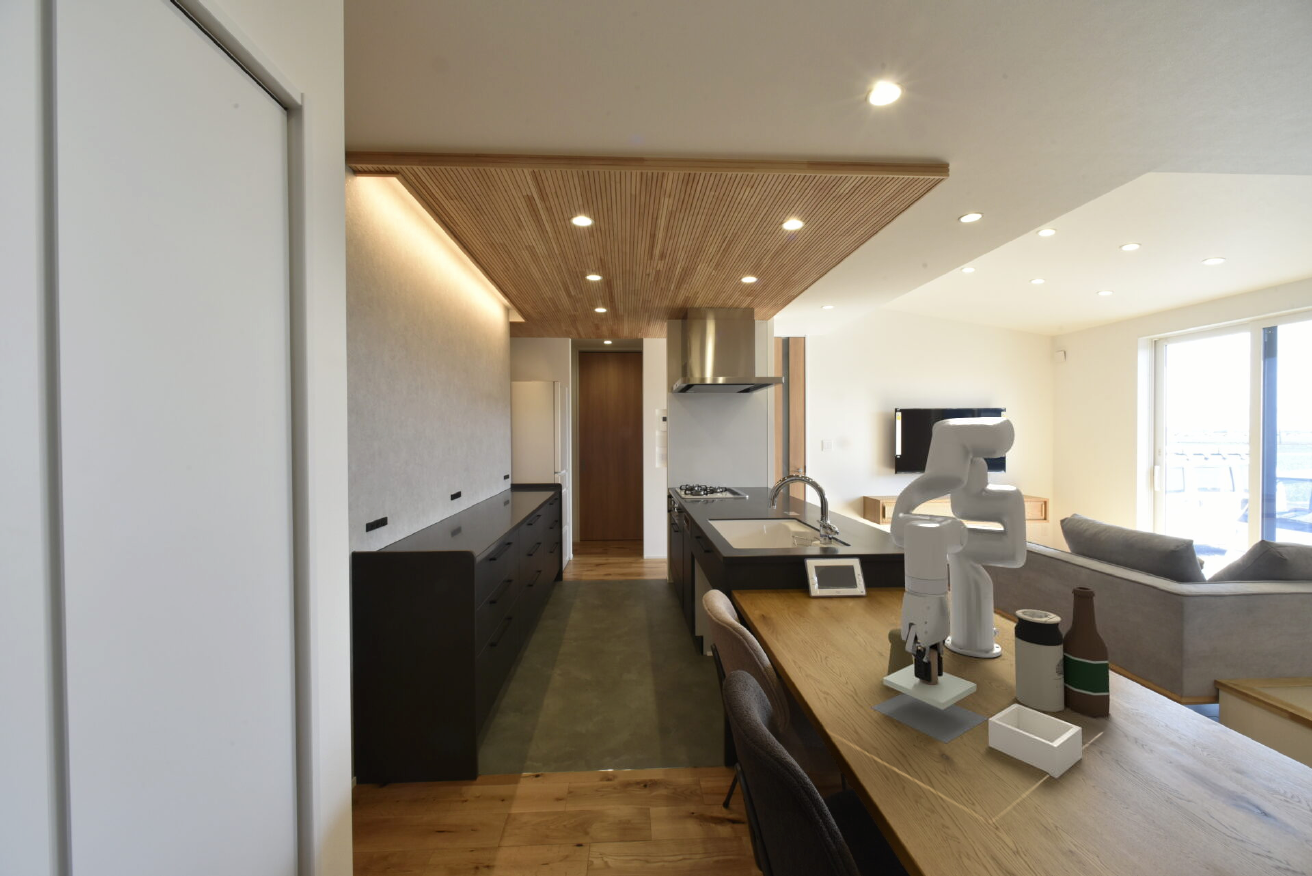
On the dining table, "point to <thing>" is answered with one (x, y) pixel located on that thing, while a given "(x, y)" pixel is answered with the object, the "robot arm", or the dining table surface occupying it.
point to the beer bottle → (1085, 660)
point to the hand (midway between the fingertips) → (928, 675)
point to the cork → (898, 652)
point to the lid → (931, 685)
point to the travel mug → (1039, 660)
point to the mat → (930, 717)
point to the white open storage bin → (1036, 739)
